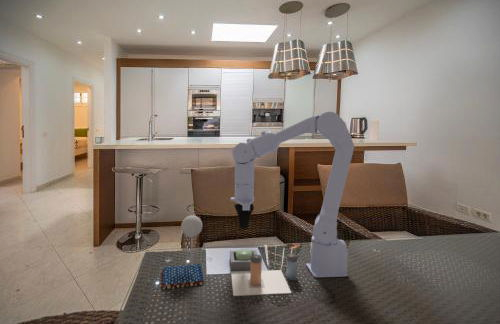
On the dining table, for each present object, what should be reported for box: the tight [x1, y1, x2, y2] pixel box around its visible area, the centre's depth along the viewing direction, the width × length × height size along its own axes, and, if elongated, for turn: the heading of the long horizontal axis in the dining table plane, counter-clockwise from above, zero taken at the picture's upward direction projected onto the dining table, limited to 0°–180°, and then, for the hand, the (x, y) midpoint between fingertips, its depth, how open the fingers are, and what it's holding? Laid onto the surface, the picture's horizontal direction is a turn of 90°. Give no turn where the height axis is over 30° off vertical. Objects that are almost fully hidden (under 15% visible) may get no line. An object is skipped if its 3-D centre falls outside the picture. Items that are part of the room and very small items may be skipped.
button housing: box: [229, 249, 258, 272], centre depth 87 cm, size 8×8×2 cm
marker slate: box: [285, 253, 298, 281], centre depth 79 cm, size 3×3×6 cm
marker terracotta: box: [249, 254, 263, 286], centre depth 75 cm, size 3×3×7 cm
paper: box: [230, 269, 292, 297], centre depth 76 cm, size 14×12×1 cm
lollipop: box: [180, 214, 204, 265], centre depth 84 cm, size 6×6×15 cm
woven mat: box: [160, 263, 205, 290], centre depth 78 cm, size 10×11×2 cm
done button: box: [235, 249, 252, 261], centre depth 87 cm, size 5×5×3 cm
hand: (243, 228), depth 89 cm, fingers closed
